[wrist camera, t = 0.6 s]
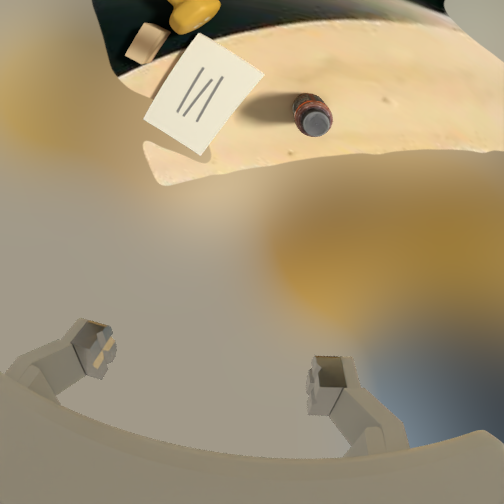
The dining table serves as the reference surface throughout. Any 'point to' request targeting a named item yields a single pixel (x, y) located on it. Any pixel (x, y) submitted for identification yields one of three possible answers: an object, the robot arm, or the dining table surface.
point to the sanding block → (147, 43)
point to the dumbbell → (191, 14)
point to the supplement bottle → (312, 115)
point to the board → (201, 93)
